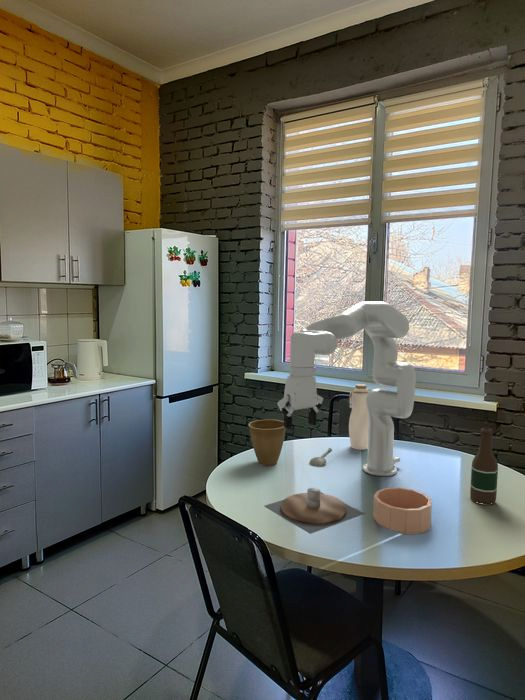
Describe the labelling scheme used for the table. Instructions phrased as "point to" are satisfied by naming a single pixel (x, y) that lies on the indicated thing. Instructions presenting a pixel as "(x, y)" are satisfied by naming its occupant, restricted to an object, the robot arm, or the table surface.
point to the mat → (313, 528)
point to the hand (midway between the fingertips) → (300, 426)
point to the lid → (313, 507)
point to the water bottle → (358, 417)
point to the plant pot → (267, 440)
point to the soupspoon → (319, 460)
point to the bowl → (403, 510)
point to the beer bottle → (484, 471)
